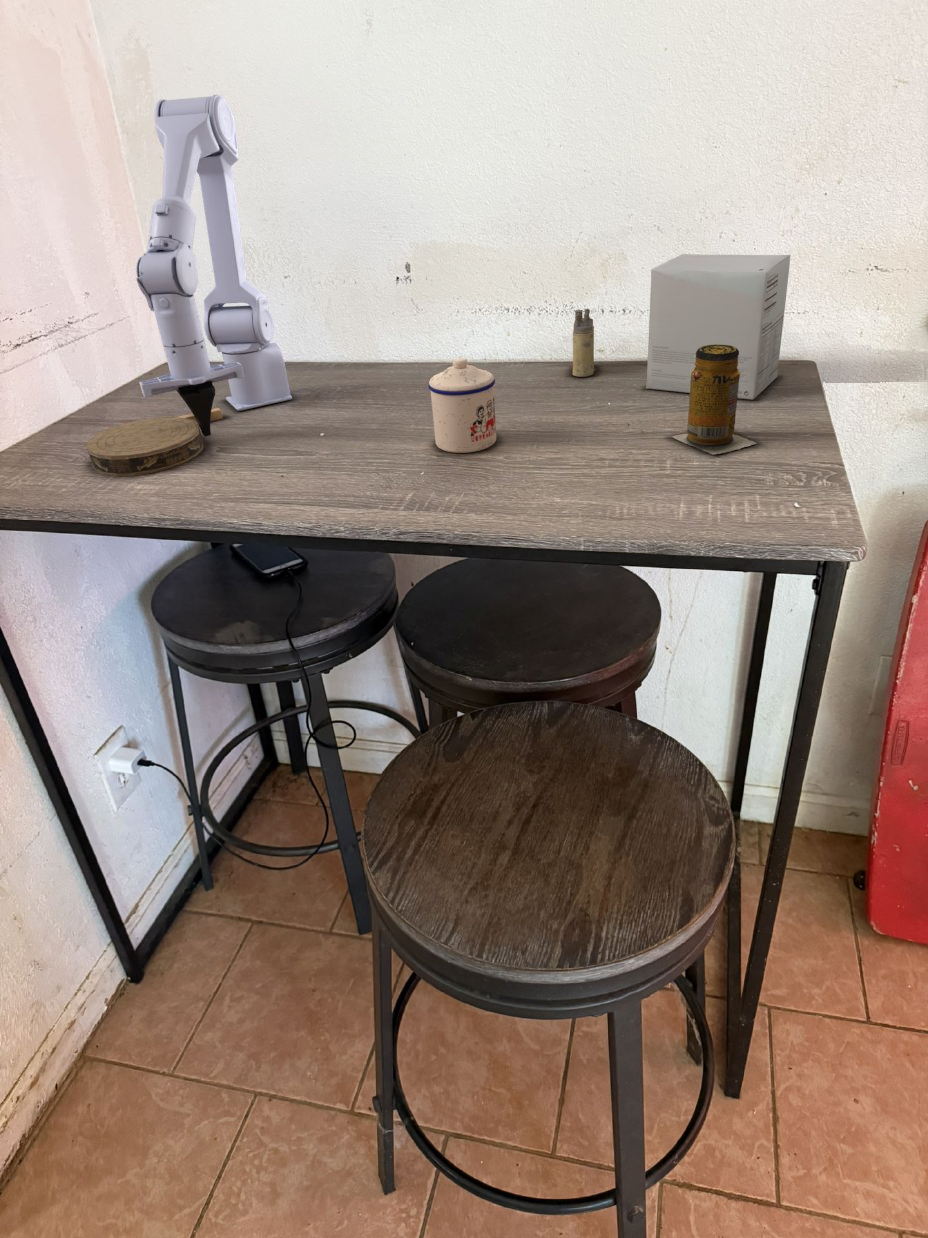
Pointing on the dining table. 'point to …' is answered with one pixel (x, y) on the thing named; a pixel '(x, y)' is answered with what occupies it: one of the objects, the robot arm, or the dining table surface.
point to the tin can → (145, 446)
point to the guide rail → (214, 415)
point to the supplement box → (717, 317)
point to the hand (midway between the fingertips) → (206, 433)
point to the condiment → (714, 401)
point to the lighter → (583, 344)
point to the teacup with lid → (463, 408)
